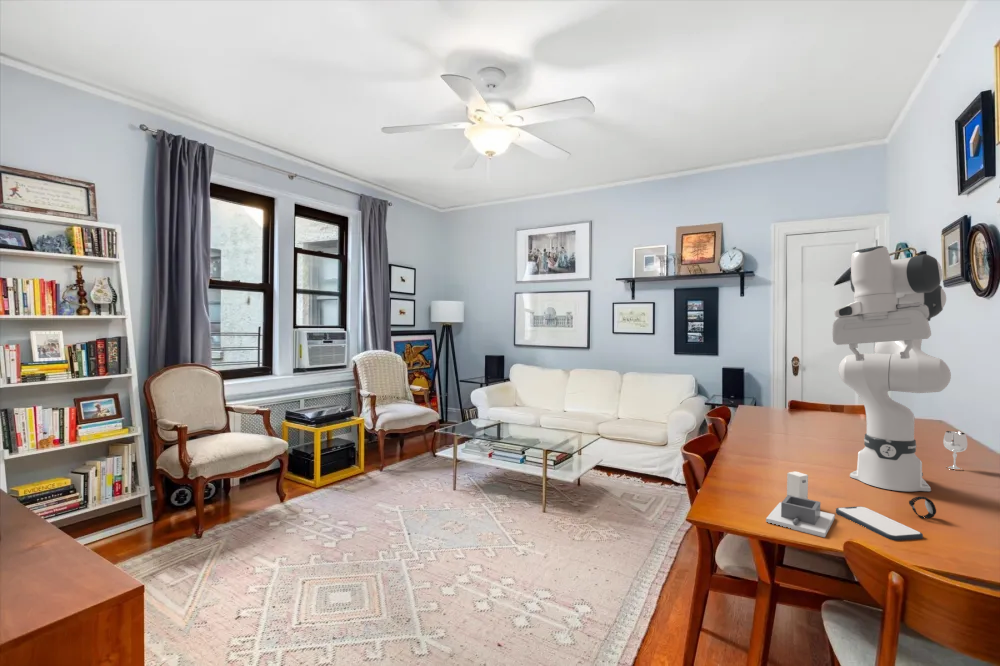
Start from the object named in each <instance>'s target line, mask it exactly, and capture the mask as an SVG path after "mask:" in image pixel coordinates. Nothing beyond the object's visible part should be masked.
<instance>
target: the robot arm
mask: <svg viewBox="0 0 1000 666" xmlns="http://www.w3.org/2000/svg"><path fill="white" fill-rule="evenodd" d="M850 258H851V260H850V272H851V273H850V275H849V281H850V288H851V291H852V292H853V293H854V294H853V302H851V303H849V304H847V305H844V306H841V307H839V308H836V309H835V310H834V316H835V317H836V318H835V320H834V321H833V322H832V332H831V333H832V342H833V344H835V345H837V346H843V345H844V346H845V345H848V346H849V347H848V348H849V349H850V351H851V352H852V353H853V354H852V353H851V354H846V356H844V357H843V359H841V361H840V362H839V364H838V375H839V378H840V379H841V381H842V382H843V383H844V384H845V385H846V386H848V387H850V389H852V390H853V391H854V392H855V393H856V394H857V396H858V397H859V398H860V400H861V401H862V404H863V406H864V410H865V418H866V420H865V421H866V433H865V434H864V438H863V441H864V443H863V444H864V448H862V449H860V451H858V453H857V463H856V465H857V466H856V470H854V471H851V472H850V473H849V477H850V478H852V479H854V480H857V481H860V482H861V483H864V484H867V485H870V486H873V487H877V488H881V489H885V490H890V491H891V490H892V491H898V492H931V491H932V489H931V488H932V487H931V486H930V485H929V484H928V483H927V481H926V480H925V479H924V478H923V476H924V472H923V462H922V460H921V459H920V458H919V457H918V456H917V455H916V452H917V441H916V439H915V415H914V412H913V411H912V410H911V409H910V408H908V407H907V406H906V405H903V404H902V403H900V402H897V401H896V400H893V399H892V397H890V396H889V393H888V392H900V393H901V392H902V393H914V394H926V393H927V394H930V393H940V392H942V391H944V390H945V389H946V388H947V387H948V385H949V383H950V381H951V379H952V373H951V369H950V367H949V366H948V364H947V363H946V362H945V361H944V360H943V359H941V358H939V357H935V356H932V355H930V354H928V353H926V352H924V351H923V350H922V341H923V340H927V339H929V338H930V337H931V336H932V330H931V326H930V323H929V322H930V321H931V319H932V318H934V317H936V316H938V315H939V314H940V313H941V312H942V311H943V310H944V307H945V305H946V302H947V295H946V291H945V289H943V287H942V285H941V282H942V279H943V270H942V266H941V264H940V262H939V261H938V260H937V258H935V257H934V256H932V255H930V254H926V253H924V254H920V255H914V256H911V257H905V258H899V259H891V256H890V253H889V250H888V248H887V247H886V246H883V245H877V246H872V247H867V248H862V249H857V250H855V251H854V252H852V254H851V257H850ZM869 343H870V344H873V343H875V346H874V353H873V352H871V353H870V352H863V353H860V352H859V351H858V350H857V349H858V347H859V345H858V344H860V345H861V344H869Z"/></svg>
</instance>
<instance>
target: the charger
mask: <svg viewBox="0 0 1000 666" xmlns="http://www.w3.org/2000/svg"><path fill="white" fill-rule="evenodd" d="M786 475H787V476H786V477H787V478H786V496H787V495H791V496H795V497H800V498H805V499H809V498H808V496H809V494H808V493H809V489H808V488H809V475H808V474H806V473H802V472H801V471H800V472H799V471H795V470H794V471H790V472H787V474H786Z"/></svg>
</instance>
